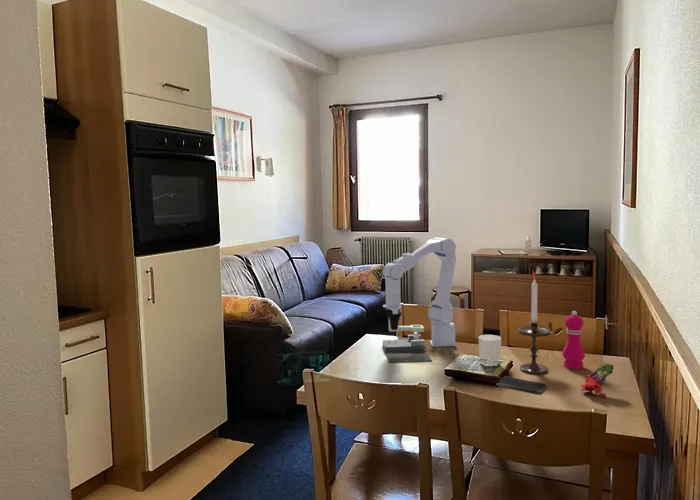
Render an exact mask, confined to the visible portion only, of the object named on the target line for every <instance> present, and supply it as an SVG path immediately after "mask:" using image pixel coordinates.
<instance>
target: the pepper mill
mask: <svg viewBox="0 0 700 500" xmlns="http://www.w3.org/2000/svg"><path fill="white" fill-rule="evenodd" d="M564 320H565V321H564V324H565V327H566V334H567V340H566V343H565V346H564V348H563V350H562V357H563V358H564V360H563V367H564V368H566V367H567V368H566V369H569V368H570V370H582V369H583V368H584V362H583V360H584V359H585V357H586V353H585V352H586V351H585V349H584V347H583V345H582V342H581V334H583V330H582V328H583V326H584V323H585V322H584V319H583V318H582V317H581V316H579V315H578V312H577V311H576V310H572V312H571V314H570V315H567V317H566V318H564ZM581 368H582V369H581Z"/></svg>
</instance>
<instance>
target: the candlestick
mask: <svg viewBox="0 0 700 500" xmlns="http://www.w3.org/2000/svg"><path fill="white" fill-rule="evenodd" d="M532 279H533V281H532V283H531V315H530V316H531V317H530V318H531V320H528V321H527V323H529V324H530V325H523V326H519V327H518V328H517V333H518V334H520V335H522V336H526V337H531V347H529V351H530V352H531V354H530V355H529V356H530V358H531V363H522V364H521V365H520V366H519V370H520V371H521V372H522V373H524V374H529V375H544V374H547V373H548V371H549V370H548V369H549V368H548V367H547V366H546V365H542V364H538V363H537V358H538V355H537V352H538V351H539V347H537V338H538V337H539V338H540V337H541V338H542V337H547V336H550V335H551V334H552V330H551V329H550V328H549V327H544V326H541V325H538V324H540V323H541V322H540V321H539V320H538V283H537V282H536V275H535V272H534V271H532Z"/></svg>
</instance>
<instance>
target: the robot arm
mask: <svg viewBox="0 0 700 500" xmlns="http://www.w3.org/2000/svg"><path fill="white" fill-rule="evenodd" d="M456 248H457V245H456V243H455V242H454V240H453V239H451V237H450V238H448V237H446V238H445V237H436V236H435V237H432V238H431V239H428V240H427V241H426V242H425V243H423V245H421V246H419V248H417V249H416V250H415V251H412V252H411V253H410V252H407V253H406V252H405V253H402V255H401V256H400V257H398V258H397V259H393V261H392V262H388V263H386V264H385V265H384V266H383V269H382V271H381V272H382V275H383V276H384V281H385V304H383V305H382V307H383V308H384V309H385V313H386V314H387V318H388V321H389V320H390V325H391V329H392V330H397V327H398V322H400V318H401V316H402V311H401V308H402V303H401V299H402V298H401V278H402V277H403V275H404V273H406V272H407V271H408V270H410V269H411V268H414V266H415V265H416V263H417V261H419V260H420V259H422V258H423V257H427V255H429V254H432V253H433V254H434V255H435V256H437V257H438V258H439V259H440V260H441V265H440V271H439V276H438V281H437V289H436V295H435V298H434V299H433V300H432V301H431V303H430V306H429V308H428V310H427V316H428V319H430V323H431V340H429V341H430V342H429V343H430V345H431V346H432V347H435V348H436V347H456V326H455V325H456V324H455V323H454V322H452V321H453V318H454V313H453V309H454V307H453V305H452V303H451V302H450V298H451V292H452V285H453V278H454V273H455V267H456V263H457V262H456V260H457V256H456Z"/></svg>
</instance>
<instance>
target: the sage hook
mask: <svg viewBox="0 0 700 500" xmlns="http://www.w3.org/2000/svg"><path fill="white" fill-rule="evenodd" d="M399 322H400V321H399ZM399 322H398V327H397V330H392V329H391V325H390V320H389V319H388V331H389V332H411V333H414V332H418V333H421V332H425V327H424V326H423V325H422V324H410V325H400V323H399Z"/></svg>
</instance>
